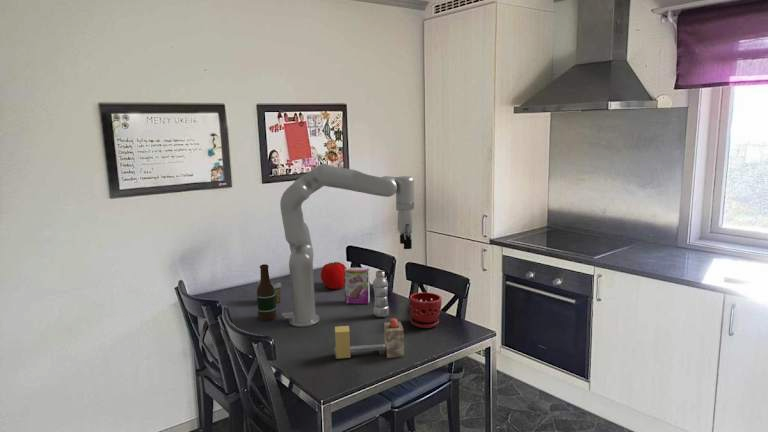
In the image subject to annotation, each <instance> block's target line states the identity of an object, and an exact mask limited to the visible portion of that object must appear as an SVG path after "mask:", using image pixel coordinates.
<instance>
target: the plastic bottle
mask: <svg viewBox="0 0 768 432" xmlns="http://www.w3.org/2000/svg"><path fill="white" fill-rule="evenodd" d="M375 276H376V277H375V278H374V280H373V281H372V287H373V293H374V306H373V313H374V316H376V317H377V318H386V317H388V315H389V314H390V306H389V302H388V290H389V282H388V279H387V278H386V277H385V276H386V273H385V270H381V269H380V270H376V271H375Z"/></svg>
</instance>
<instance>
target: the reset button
mask: <svg viewBox="0 0 768 432" xmlns="http://www.w3.org/2000/svg"><path fill="white" fill-rule="evenodd" d="M389 322H390V328H398V323H397V322H398V318H395V317H393V318H392V317H391V318H389Z"/></svg>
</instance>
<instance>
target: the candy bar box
mask: <svg viewBox="0 0 768 432" xmlns="http://www.w3.org/2000/svg"><path fill="white" fill-rule="evenodd" d="M344 274H345V286H344V304H345V305H347V304H349V305H369V304H370V300H371V295H370V294H371V292H370V289H371V288H370V268H369V267H346V269H345V270H344Z"/></svg>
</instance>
